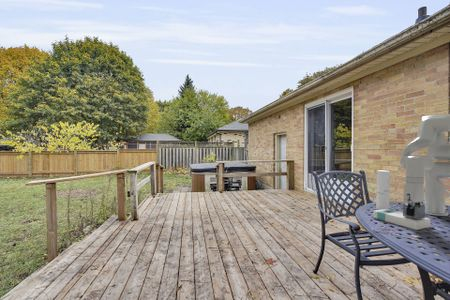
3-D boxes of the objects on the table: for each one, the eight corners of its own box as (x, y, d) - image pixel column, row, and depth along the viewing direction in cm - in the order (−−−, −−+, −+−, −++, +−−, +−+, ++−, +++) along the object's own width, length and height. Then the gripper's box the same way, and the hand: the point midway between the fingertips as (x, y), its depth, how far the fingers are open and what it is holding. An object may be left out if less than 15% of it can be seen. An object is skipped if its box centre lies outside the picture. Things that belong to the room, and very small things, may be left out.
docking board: (373, 217, 141) (373, 210, 141) (386, 215, 146) (386, 208, 146) (416, 229, 121) (416, 221, 121) (430, 226, 126) (430, 218, 126)
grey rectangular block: (409, 222, 132) (410, 203, 132) (424, 226, 126) (425, 206, 125) (402, 224, 129) (403, 204, 129) (417, 228, 123) (418, 207, 123)
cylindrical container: (391, 211, 156) (392, 171, 155) (378, 210, 157) (379, 171, 157) (386, 208, 163) (387, 170, 162) (374, 207, 164) (375, 170, 164)
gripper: (416, 178, 134) (415, 211, 134) (396, 180, 127) (395, 215, 127) (432, 180, 127) (431, 215, 128) (412, 182, 120) (412, 219, 120)
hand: (413, 214), depth 127 cm, fingers closed on grey rectangular block, 6 cm apart
